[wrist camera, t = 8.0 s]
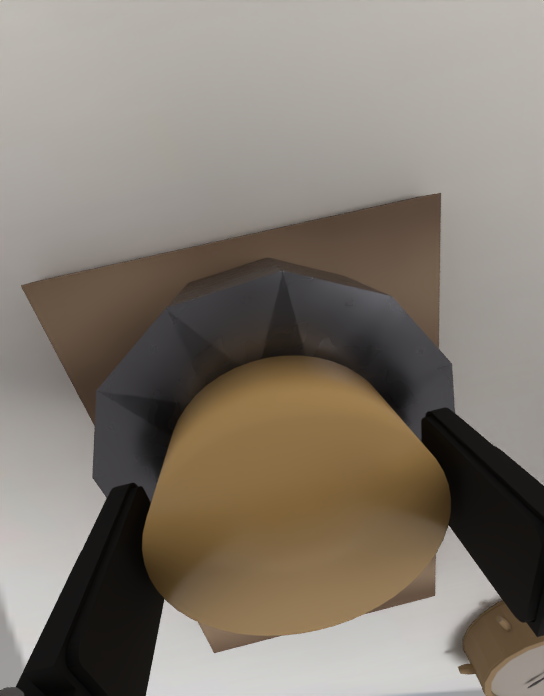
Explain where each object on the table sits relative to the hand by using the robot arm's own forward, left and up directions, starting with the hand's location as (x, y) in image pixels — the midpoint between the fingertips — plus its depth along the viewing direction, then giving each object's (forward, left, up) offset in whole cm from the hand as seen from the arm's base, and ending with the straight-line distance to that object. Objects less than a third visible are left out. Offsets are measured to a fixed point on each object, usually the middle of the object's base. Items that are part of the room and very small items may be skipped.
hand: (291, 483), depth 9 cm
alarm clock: (-36, +2, -7) cm, 36 cm away
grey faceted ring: (0, 0, -5) cm, 5 cm away
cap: (0, 0, -5) cm, 5 cm away
